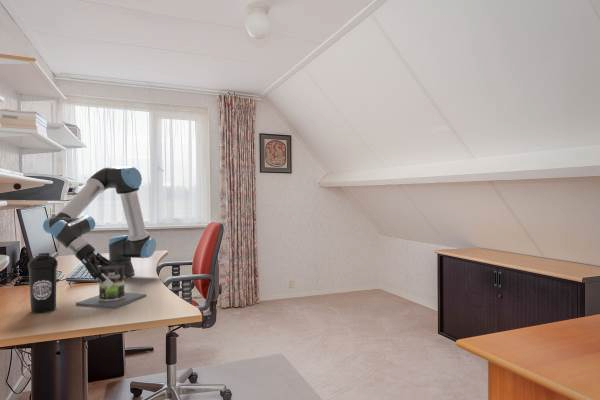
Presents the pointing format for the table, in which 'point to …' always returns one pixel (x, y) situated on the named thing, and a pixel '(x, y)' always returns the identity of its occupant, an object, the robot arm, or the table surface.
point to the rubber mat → (111, 304)
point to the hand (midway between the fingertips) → (117, 282)
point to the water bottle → (42, 283)
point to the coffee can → (117, 278)
